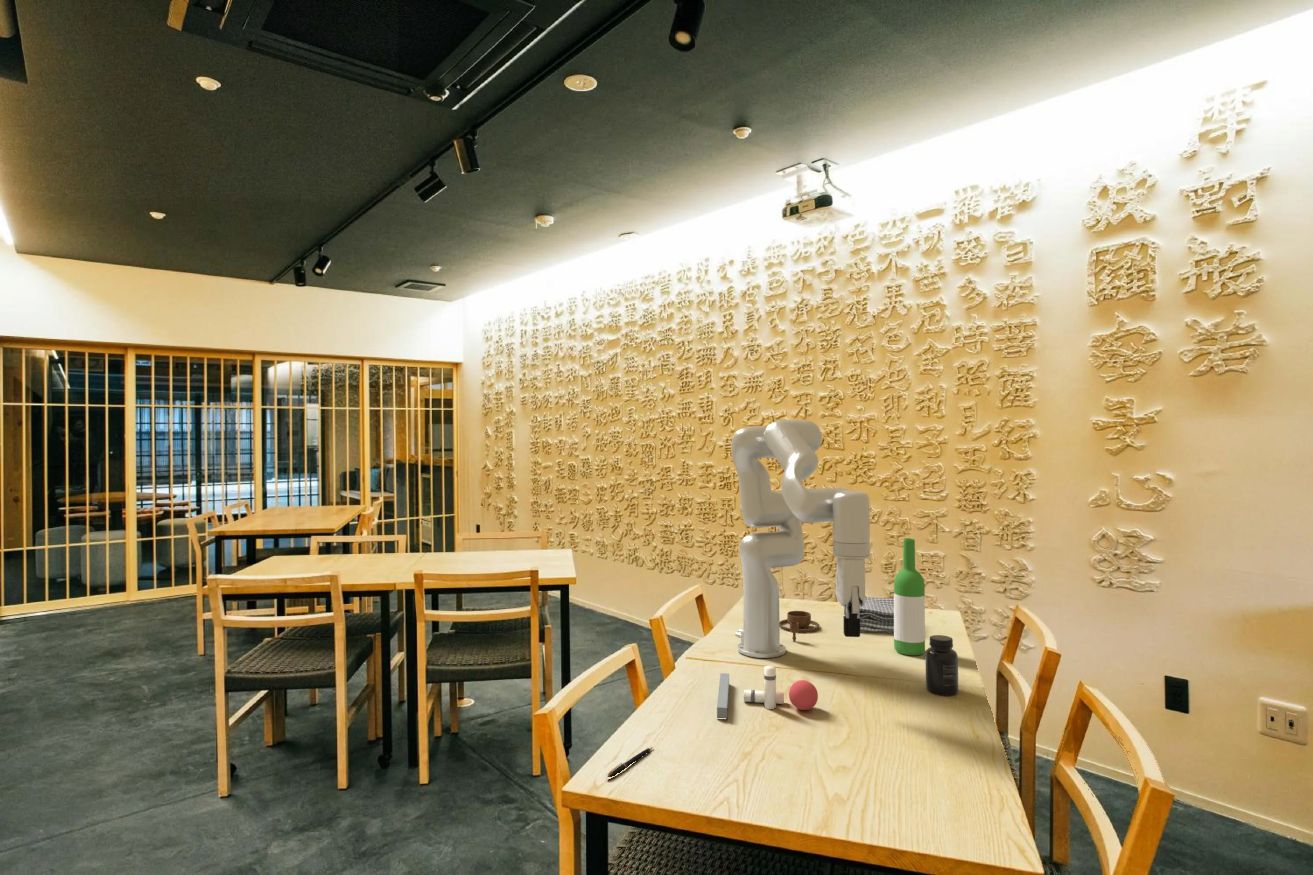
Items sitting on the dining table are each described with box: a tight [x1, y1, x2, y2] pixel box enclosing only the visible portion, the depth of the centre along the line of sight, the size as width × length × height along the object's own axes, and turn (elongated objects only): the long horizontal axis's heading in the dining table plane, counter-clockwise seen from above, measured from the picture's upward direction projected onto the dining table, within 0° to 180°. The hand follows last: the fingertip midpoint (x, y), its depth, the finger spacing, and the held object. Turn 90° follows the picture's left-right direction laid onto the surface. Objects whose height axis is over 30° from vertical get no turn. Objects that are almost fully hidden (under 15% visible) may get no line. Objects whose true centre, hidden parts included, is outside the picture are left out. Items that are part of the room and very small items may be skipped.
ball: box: [788, 679, 819, 711], centre depth 145 cm, size 6×6×6 cm
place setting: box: [779, 610, 820, 643], centre depth 203 cm, size 18×20×6 cm
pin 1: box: [743, 689, 785, 705], centre depth 148 cm, size 2×2×8 cm
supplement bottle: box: [924, 634, 959, 697], centre depth 154 cm, size 7×7×12 cm
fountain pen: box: [607, 746, 654, 777], centre depth 121 cm, size 14×1×2 cm, turn 147°
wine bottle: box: [893, 537, 926, 656], centre depth 182 cm, size 8×8×30 cm
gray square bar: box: [716, 672, 730, 719], centre depth 149 cm, size 20×2×2 cm, turn 173°
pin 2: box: [763, 665, 777, 710], centre depth 146 cm, size 2×2×8 cm
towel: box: [860, 596, 894, 634], centre depth 206 cm, size 15×18×8 cm
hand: (851, 635), depth 146 cm, fingers closed
